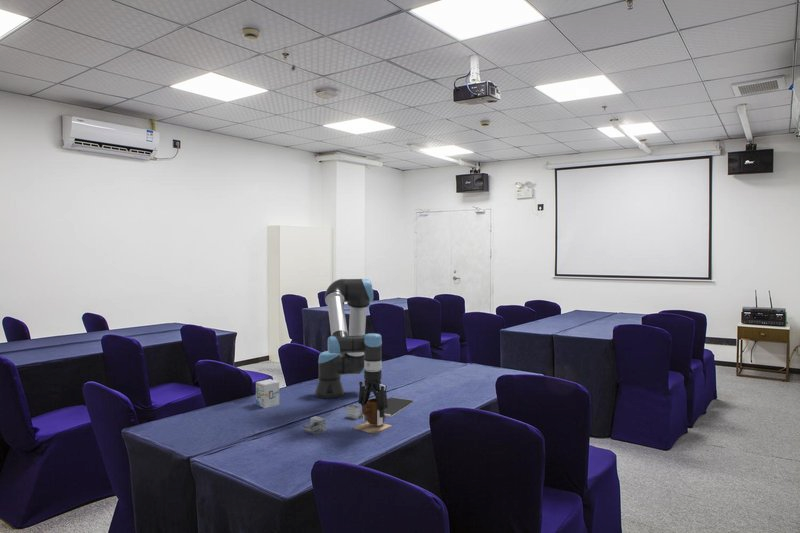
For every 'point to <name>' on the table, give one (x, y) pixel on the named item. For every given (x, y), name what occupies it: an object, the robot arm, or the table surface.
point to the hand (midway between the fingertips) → (372, 422)
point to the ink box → (267, 393)
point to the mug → (371, 411)
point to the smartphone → (396, 405)
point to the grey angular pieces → (320, 423)
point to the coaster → (372, 427)
